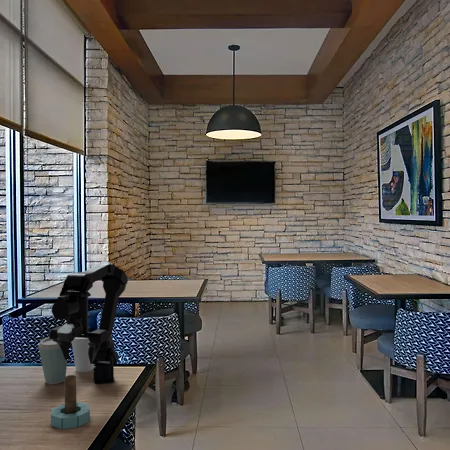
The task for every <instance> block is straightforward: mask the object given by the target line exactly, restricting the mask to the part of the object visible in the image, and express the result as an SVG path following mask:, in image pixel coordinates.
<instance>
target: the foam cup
mask: <svg viewBox="0 0 450 450" xmlns="http://www.w3.org/2000/svg"><path fill="white" fill-rule="evenodd" d="M82 335H84V334H82ZM88 343H90V341H89V340H88V338H81V337H75V338H74V340H73V341H71V342H70V344H71V345H72V353H73V359H74V366H75V371H76V372H77V373H87V372H88V373H89V372H91V371H93V367H95V364H90V360H89V356H88V350H89V347H90V346H89V345H88Z"/></svg>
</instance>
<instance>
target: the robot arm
mask: <svg viewBox="0 0 450 450" xmlns="http://www.w3.org/2000/svg"><path fill="white" fill-rule="evenodd" d="M99 280H101V282H102V288H103V290H104V293H105V295H104V300H103V301H104V302H103V306H102V310H101V315H100V321H99V326H98V329H95V330H94V331H91V326H89V319H90V318H91V314H89V297H91V296H92V294H91V293H90V292H89V291H90V290H91V289H92V288H93V287H94V283H96V282H98V281H99ZM128 282H129V279H128V275H127V274H126V272H125V271H124V270H123V269H121V268H119V267H118V266H116V265H115V263H113V262H109V261H108V262H104V261H103V262H99V263H98V264H96V265H95V266H92V267H91V268H89V269H87V270H85V271H79V272H78V271H77V272H71V273H68V274H67V275H66V278H65V279H64V282H63V285H62V288H61V290H60V293H59V296H57V300H56V301H55V302H54V303H53V305H52V307H51V313H52V316H53V317H54V318H55V319H56V320H59V321H60V320H65V319H66V322H65V323H64V324H63V325H61V326H60V325H59V326H57V327H54V328H51V329H50V331H49V333H48V337H49V339H53V341H54V342H56V343H58V344H59V346H60V348H61V350H62V353H63V355H64V358H65V360H67V361H68V360H69V357H70V348H71V341H73V340H74V338H75V337H81V338H88V340H89V341H90V343H88V345H89V346H90V347H89V350H88V356H89V360H90V364H94V367H93V370H92V372H93V381H94V384H95V385H98V384H99V385H100V384H109V383H115V377H114V374H115V373H114V371H115V370H114V367H115V365H118V362H119V354H118V353H117V351H116V350H115V347H116V346H115V342H114V339H113V337H112V335H113V331H114V326H115V320H116V315H117V309H118V306H119V305H118V304H119V300H120V299H119V298H120V296H122V294H123V293H124V292H125V290H126V287H127V284H128ZM82 334H84V335H82Z"/></svg>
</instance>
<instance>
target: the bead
mask: <svg viewBox="0 0 450 450" xmlns="http://www.w3.org/2000/svg"><path fill="white" fill-rule="evenodd" d="M76 407H77V412H76V413H74V414H65V403H62V404H59V405H57V406H56V407H53V408H52V409H51V413H50V425H51V427H54V428H57V429H60V430H62V429H63V430H65V429H67V430H68V429H75V428H79V427H81V426H83V425H85V424H87V423H89V422H90V417H91V416H90V414H91V410H90V409H91V408H90V407H91V406H90V404H88V403H84V402H81V401H76Z"/></svg>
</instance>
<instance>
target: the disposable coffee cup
mask: <svg viewBox="0 0 450 450" xmlns="http://www.w3.org/2000/svg"><path fill="white" fill-rule="evenodd" d="M37 349H38V350H39V352H38V353H39V355H40V356H39V357H40V361H41V362H40V363H41V366H42V373H43V376H44V380H45V382H46V383H45V384H48V385H58V384H61V383H63V382H64V377H66V376H67V367H68V360H65V358H64V355H63V353H62V350H61V348H60V346H59V344H58V343H56V342H54V341H53V339H49V336H48V337H45V338H43V339H42V340H40V341H39V343H38V345H37Z"/></svg>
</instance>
